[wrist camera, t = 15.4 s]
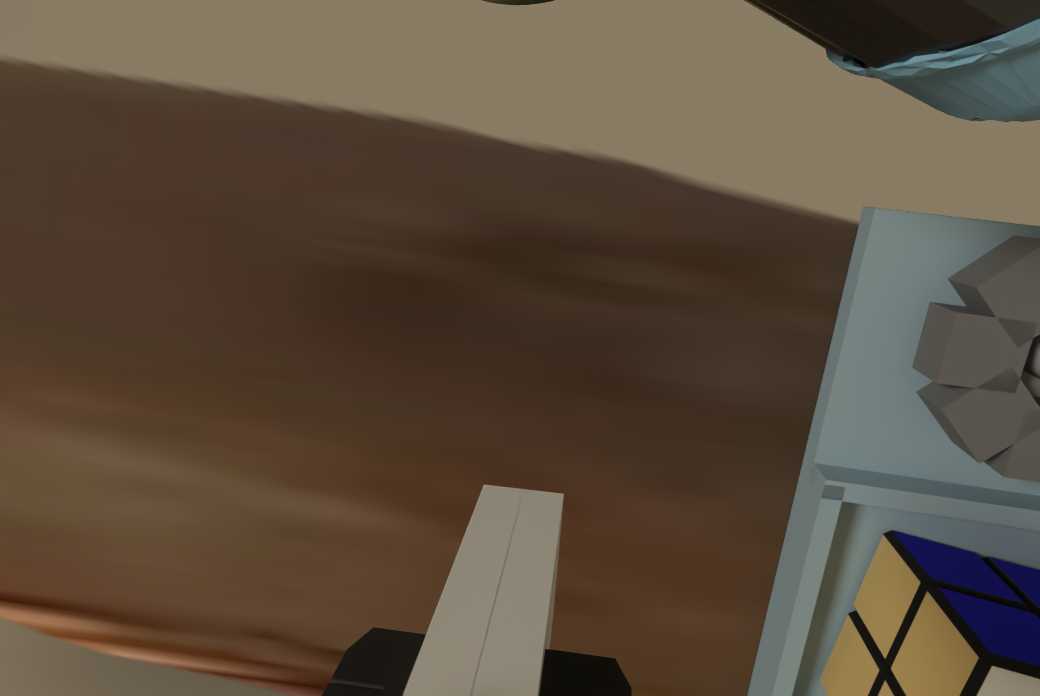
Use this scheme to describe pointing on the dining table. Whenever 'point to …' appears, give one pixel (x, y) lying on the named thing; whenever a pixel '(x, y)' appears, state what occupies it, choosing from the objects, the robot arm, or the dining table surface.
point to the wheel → (987, 359)
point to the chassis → (886, 447)
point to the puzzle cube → (938, 625)
